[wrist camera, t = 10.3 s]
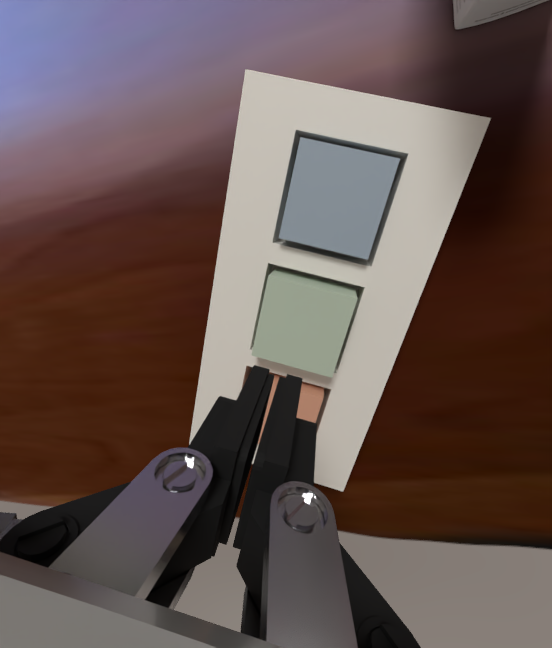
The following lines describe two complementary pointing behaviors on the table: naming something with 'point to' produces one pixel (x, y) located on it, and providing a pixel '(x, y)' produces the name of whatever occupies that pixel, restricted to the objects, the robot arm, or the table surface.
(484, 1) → the ink box
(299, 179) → the slate button
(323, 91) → the button panel
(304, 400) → the terracotta button
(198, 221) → the table surface
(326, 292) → the sage button
